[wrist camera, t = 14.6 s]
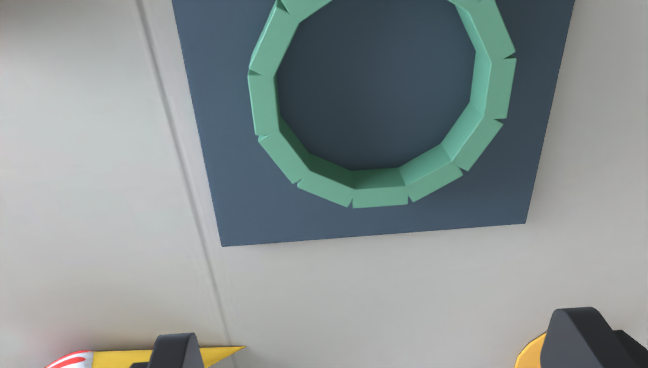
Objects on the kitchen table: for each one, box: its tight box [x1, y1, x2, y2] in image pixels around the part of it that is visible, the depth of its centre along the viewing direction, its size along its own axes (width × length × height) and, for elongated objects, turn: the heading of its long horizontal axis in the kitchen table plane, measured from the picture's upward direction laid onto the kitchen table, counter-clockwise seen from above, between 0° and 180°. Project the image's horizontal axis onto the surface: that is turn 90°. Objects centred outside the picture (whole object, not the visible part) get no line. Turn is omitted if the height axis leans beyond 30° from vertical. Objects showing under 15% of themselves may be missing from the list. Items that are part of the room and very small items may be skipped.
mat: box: [172, 0, 575, 247], centre depth 28 cm, size 22×22×1 cm
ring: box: [247, 0, 517, 208], centre depth 27 cm, size 14×14×2 cm
